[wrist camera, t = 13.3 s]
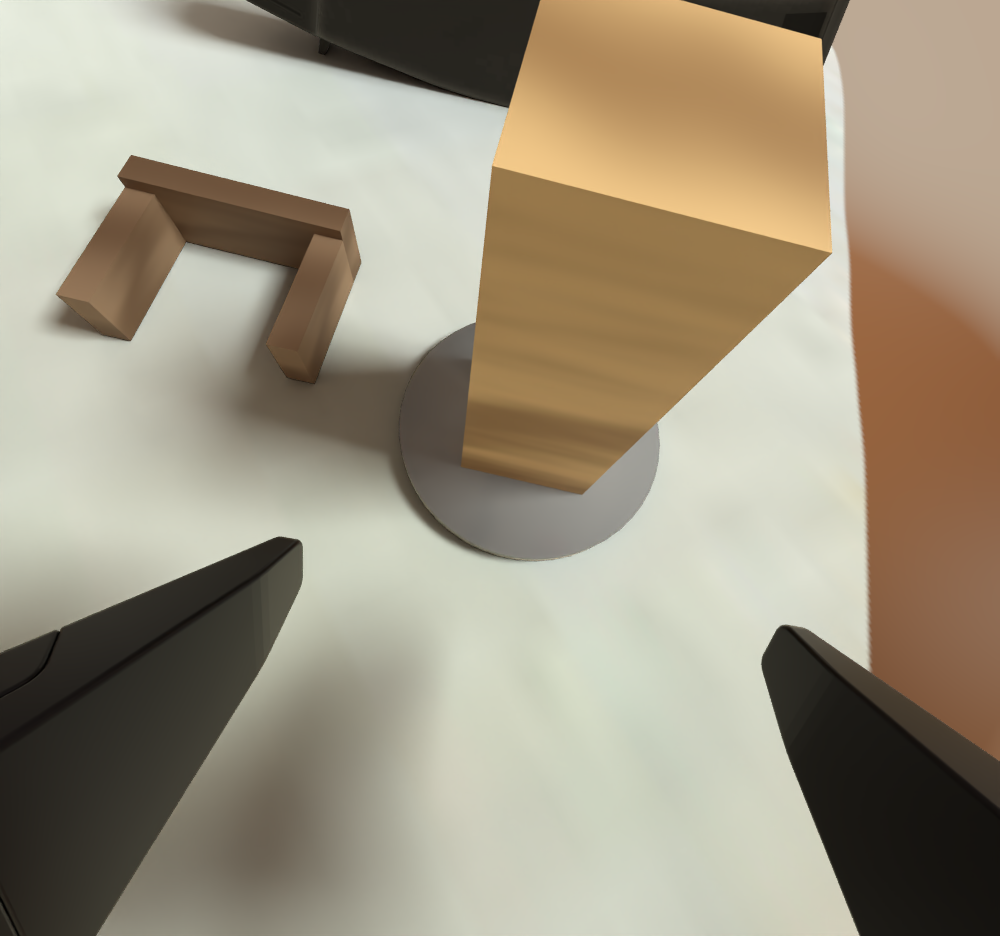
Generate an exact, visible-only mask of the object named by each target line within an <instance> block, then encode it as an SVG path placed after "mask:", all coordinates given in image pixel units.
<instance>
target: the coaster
mask: <svg viewBox="0 0 1000 936" xmlns="http://www.w3.org/2000/svg"><path fill="white" fill-rule="evenodd" d="M475 326H476V323H473V324H470V325H467V326H466V327H464V328H462V329H460V330H458V331H456V332H454V333H452V334H451V335H450V336H448V337H447V338H445V339H444V340H442V341H441V342H440V343H439V344H438V345H436V346H435V347H434V348H433V349H432V350H431V351H430V352H429V353H428V354H427V355H426V357H425V358H424V359H423V360H422V361H421V363H420V364H419V366H418V367H417V369H416V370H415V372H414V374H413V375H412V377H411V379H410V381H409V384H408V386H407V388H406V390H405V394H404V398H403V401H402V405H401V411H400V419H399V439H400V445H401V451H402V456H403V461H404V464H405V467H406V470H407V474H408V477H409V479H410V481H411V483H412V485H413V488H414V490H415V492H416V494H417V495H418V497H419V498H420V500H421V501H422V503H423V504H424V506H425V507H426V508H427V510H428V511H429V512H430V513H431V514H432V515H433V516H434V518H435V519H436V520H437V521H438V522H439V523H440V524H442V525H443V526H444V527H445V528H446V529H447V530H448V531H449V532H451V533H452V534H454V535H455V536H457V537H458V538H460V539H461V540H463V541H464V542H466V543H468V544H470V545H472V546H474V547H476V548H478V549H480V550H482V551H485V552H488V553H490V554H493V555H496V556H499V557H504V558H509V559H514V560H525V561H544V560H554V559H559V558H564V557H569V556H572V555H575V554H577V553H580V552H583V551H586V550H588V549H590V548H591V547H593V546H595V545H597V544H599V543H601V542H603V541H605V540H606V539H608V538H609V537H611V536H612V535H613V534H615V533H616V532H617V531H619V530H620V529H621V528H622V527H623V526H624V525H625V524H626V523H627V522H628V521H629V520H630V519H631V518H632V517H633V516H634V515H635V513H636V512H637V511H638V509H639V508H640V507H641V506H642V504H643V502H644V500H645V499H646V497H647V495H648V493H649V491H650V489H651V486H652V483H653V481H654V478H655V475H656V470H657V466H658V461H659V447H660V443H659V429H658V424H657V423H656V424H655V425H654V426H653V427H652V428H651V429H650V430H649V431H648V432H647V433H646V434H644V435H643V436H642V437H641V438H640V439H639V440H638V441H637V442H636V443H635V444H634V445H633V446H632V447H631V448H630V449H629V450H628V451H627V452H626V453H625V454H624V455H623V456H622V457H621V458H620V459H619V460H618V461H617V462H616V463H615V464H613V465H612V466H611V467H610V468H609V469H608V470H607V471H606V472H605V473H604V474H603V475H602V476H601V477H600V478H599V479H598V480H597V481H596V482H595V483H594V484H593V485H592V486H591V487H590V488H589V489H588V490H587V491H586V492H585V493H584V494H582V495H581V494H576V493H572V492H568V491H563V490H559V489H555V488H550V487H546V486H542V485H537V484H533V483H529V482H524V481H520V480H516V479H511V478H507V477H503V476H498V475H494V474H490V473H485V472H481V471H477V470H472V469H468V468H464V467H461V461H462V451H463V441H464V432H465V422H466V413H467V403H468V393H469V384H470V374H471V364H472V355H473V345H474V336H475Z"/></svg>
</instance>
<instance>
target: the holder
mask: <svg viewBox="0 0 1000 936" xmlns="http://www.w3.org/2000/svg"><path fill="white" fill-rule="evenodd" d="M118 178H119V179H120V181H121V182H122V183H123V185H124V186H125V188H124V190H123V191H122V193H121V194H120V196H119V197H118V199H117V201H116V202H115V204H114V205H113V207H112V208H111V210H110V211H109V213H108V214H107V216H106V218H105V219H104V221H103V222H102V224H101V225H100V227H99V228H98V230H97V231H96V233H95V235H94V236H93V238H92V239H91V241H90V242H89V244H88V245H87V247H86V248H85V250H84V252H83V253H82V255H81V256H80V258H79V259H78V261H77V262H76V264H75V265H74V267H73V269H72V270H71V272H70V273H69V275H68V276H67V278H66V279H65V281H64V282H63V284H62V286H61V287H60V289H59V290H58V292H57V293H56V295H57V296H58V297H59V298H60V299H62V300H63V301H64V302H65V303H66V304H67V305H69V306H70V307H71V308H72V309H73V310H74V311H76V312H77V313H78V314H79V315H80V316H81V317H83V318H84V319H85V320H86V321H87V322H88V323H90V324H91V325H92V326H93V327H94V328H95V329H97V330H98V331H99V332H100V333H101V334H103V335H107V336H112V337H116V338H120V339H125V340H129V341H131V340H132V338H133V336H134V334H135V332H136V331H137V329H138V327H139V325H140V324H141V322H142V320H143V318H144V316H145V315H146V313H147V311H148V309H149V307H150V306H151V304H152V302H153V300H154V298H155V297H156V295H157V293H158V291H159V289H160V288H161V286H162V284H163V282H164V280H165V279H166V277H167V275H168V273H169V271H170V270H171V268H172V266H173V264H174V262H175V261H176V259H177V257H178V255H179V253H180V252H181V250H182V248H183V246H184V244H185V243H186V242H190V243H194V244H198V245H203V246H207V247H211V248H215V249H219V250H223V251H227V252H231V253H235V254H240V255H244V256H248V257H252V258H256V259H260V260H264V261H268V262H272V263H277V264H281V265H285V266H289V267H293V268H297V269H298V272H297V274H296V276H295V279H294V281H293V283H292V285H291V288H290V290H289V292H288V295H287V297H286V299H285V301H284V304H283V306H282V308H281V310H280V313H279V315H278V317H277V320H276V322H275V324H274V326H273V329H272V331H271V333H270V335H269V338H268V340H267V342H266V345H267V347H268V348H269V350H270V352H271V353H272V355H273V356H274V358H275V360H276V361H277V363H278V364H279V366H280V368H281V369H282V371H283V372H284V374H285V375H286V377H287V378H291V379H296V380H300V381H304V382H309V383H313V384H315V382H316V379H317V376H318V374H319V371H320V369H321V366H322V363H323V361H324V358H325V356H326V353H327V350H328V348H329V345H330V343H331V340H332V337H333V335H334V332H335V330H336V327H337V324H338V322H339V319H340V317H341V314H342V311H343V309H344V306H345V304H346V301H347V298H348V296H349V293H350V290H351V288H352V285H353V283H354V280H355V277H356V275H357V272H358V270H359V267H360V264H361V259H360V254H359V250H358V245H357V241H356V236H355V232H354V228H353V223H352V219H351V214H350V210H349V209H346V208H342V207H338V206H334V205H330V204H326V203H322V202H318V201H314V200H310V199H306V198H302V197H298V196H294V195H290V194H286V193H282V192H278V191H274V190H270V189H266V188H262V187H258V186H254V185H250V184H246V183H241V182H237V181H233V180H229V179H225V178H221V177H217V176H213V175H209V174H205V173H201V172H197V171H193V170H189V169H185V168H181V167H177V166H173V165H169V164H165V163H161V162H157V161H153V160H149V159H145V158H141V157H137V156H133V155H131V156H130V157H129V159H128V161H127V162H126V164H125V165H124V167H123V168H122V170H121V171H120V173H119V174H118Z"/></svg>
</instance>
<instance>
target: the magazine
mask: <svg viewBox="0 0 1000 936" xmlns="http://www.w3.org/2000/svg"><path fill="white" fill-rule="evenodd" d="M246 1H248V2H250V3H252V4H254V5H256V6H258V7H260V8H262V9H264V10H266V11H268V12H270V13H272V14H274V15H275V16H277V17H279V18H281V19H283V20H285V21H287V22H289V23H291V24H293V25H295V26H297V27H299V28H301V29H303V30H305V31H306V32H308V33H310V34H312V35H314V36H317V37H320V44H319V51H318V52H319V53H320V54H324V55H325V54H326V52H327V49H328V47H329V45H330V43H333V44H335V45H337V46H340V47H342V48H344V49H346V50H349V51H351V52H353V53H356V54H358V55H361V56H363V57H366V58H368V59H371V60H373V61H376V62H378V63H381V64H383V65H385V66H388V67H390V68H393V69H395V70H398V71H400V72H403V73H405V74H408V75H410V76H413V77H415V78H418V79H420V80H423V81H425V82H428V83H430V84H433V85H435V86H438V87H441V88H444V89H447V90H450V91H453V92H456V93H459V94H462V95H465V96H468V97H471V98H474V99H478V100H482V101H486V102H490V103H494V104H497V105H501V106H505V107H509V106H510V103H511V99H512V96H513V92H514V89H515V86H516V82H517V79H518V75H519V72H520V68H521V65H522V62H523V58H524V55H525V51H526V48H527V44H528V41H529V38H530V34H531V31H532V27H533V24H534V20H535V17H536V14H537V10H538V7H539V3H540V0H246ZM682 1H686V2H689V3H693V4H697V5H700V6H704V7H707V8H711V9H715V10H718V11H722V12H726V13H729V14H733V15H737V16H740V17H744V18H747V19H751V20H755V21H758V22H762V23H766V24H769V25H773V26H776V27H780V28H784V29H787V30H791V31H795V32H798V33H802V34H806V35H809V36H813V37H816V38H820V39H822V58H823V65H824V63H825V60H826V58H827V55H828V53H829V50H830V48H831V45H832V43H833V40H834V38H835V35H836V33H837V31H838V28H839V25H840V23H841V20H842V18H843V16H844V13H845V10H846V8H847V6H848V3H849V1H850V0H682Z"/></svg>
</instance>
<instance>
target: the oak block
mask: <svg viewBox="0 0 1000 936" xmlns="http://www.w3.org/2000/svg"><path fill="white" fill-rule="evenodd" d="M831 254H832V242H831V221H830V201H829V180H828V160H827V140H826V119H825V99H824V78H823V58H822V39H820V38H816V37H813V36H809V35H806V34H802V33H798V32H795V31H791V30H787V29H784V28H780V27H776V26H773V25H769V24H766V23H762V22H758V21H755V20H751V19H747V18H744V17H740V16H737V15H733V14H729V13H726V12H722V11H718V10H715V9H711V8H707V7H704V6H700V5H697V4H693V3H689V2H686V1H682V0H540V3H539V7H538V10H537V14H536V17H535V20H534V24H533V27H532V31H531V34H530V38H529V41H528V44H527V48H526V51H525V55H524V58H523V62H522V65H521V68H520V72H519V75H518V79H517V82H516V86H515V89H514V92H513V96H512V99H511V103H510V106H509V110H508V113H507V116H506V120H505V123H504V127H503V130H502V134H501V137H500V141H499V144H498V147H497V151H496V154H495V158H494V161H493V165H492V172H491V182H490V191H489V201H488V211H487V220H486V230H485V239H484V249H483V259H482V268H481V278H480V288H479V297H478V307H477V316H476V326H475V336H474V345H473V355H472V364H471V374H470V384H469V393H468V403H467V413H466V422H465V432H464V441H463V451H462V461H461V467H464V468H468V469H472V470H477V471H481V472H485V473H490V474H494V475H498V476H503V477H507V478H511V479H516V480H520V481H524V482H529V483H533V484H537V485H542V486H546V487H550V488H555V489H559V490H563V491H568V492H572V493H576V494H581V495H582V494H584V493H585V492H586V491H587V490H588V489H589V488H590V487H591V486H592V485H593V484H594V483H595V482H596V481H597V480H598V479H599V478H600V477H601V476H602V475H603V474H604V473H605V472H606V471H607V470H608V469H609V468H610V467H611V466H612V465H613V464H615V463H616V462H617V461H618V460H619V459H620V458H621V457H622V456H623V455H624V454H625V453H626V452H627V451H628V450H629V449H630V448H631V447H632V446H633V445H634V444H635V443H636V442H637V441H638V440H639V439H640V438H641V437H642V436H643V435H644V434H646V433H647V432H648V431H649V430H650V429H651V428H652V427H653V426H654V425H655V424H656V423H657V422H658V421H659V420H660V419H661V418H662V417H663V416H664V415H665V414H666V413H667V412H668V411H669V410H670V409H671V408H672V407H673V406H674V405H676V404H677V403H678V402H679V401H680V400H681V399H682V398H683V397H684V396H685V395H686V394H687V393H688V392H689V391H690V390H691V389H692V388H693V387H694V386H695V385H696V384H697V383H698V382H699V381H700V380H701V379H702V378H703V377H704V376H705V375H707V374H708V373H709V372H710V371H711V370H712V369H713V368H714V367H715V366H716V365H717V364H718V363H719V362H720V361H721V360H722V359H723V358H724V357H725V356H726V355H727V354H728V353H729V352H730V351H731V350H732V349H733V348H734V347H735V346H736V345H738V344H739V343H740V342H741V341H742V340H743V339H744V338H745V337H746V336H747V335H748V334H749V333H750V332H751V331H752V330H753V329H754V328H755V327H756V326H757V325H758V324H759V323H760V322H761V321H762V320H763V319H764V318H765V317H766V316H767V315H769V314H770V313H771V312H772V311H773V310H774V309H775V308H776V307H777V306H778V305H779V304H780V303H781V302H782V301H783V300H784V299H785V298H786V297H787V296H788V295H789V294H790V293H791V292H792V291H793V290H794V289H795V288H796V287H797V286H798V285H800V284H801V283H802V282H803V281H804V280H805V279H806V278H807V277H808V276H809V275H810V274H811V273H812V272H813V271H814V270H815V269H816V268H817V267H818V266H819V265H820V264H821V263H822V262H823V261H824V260H825V259H826V258H827V257H828V256H829V255H831Z"/></svg>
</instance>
